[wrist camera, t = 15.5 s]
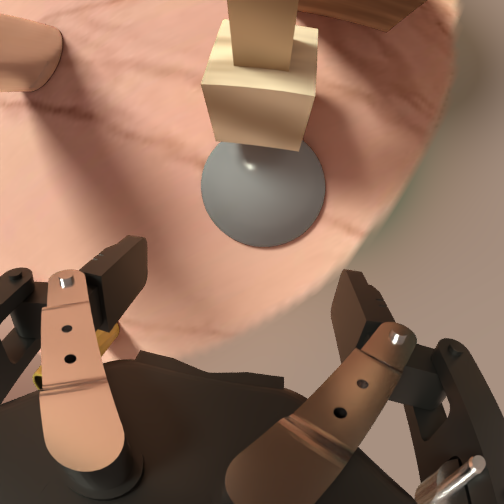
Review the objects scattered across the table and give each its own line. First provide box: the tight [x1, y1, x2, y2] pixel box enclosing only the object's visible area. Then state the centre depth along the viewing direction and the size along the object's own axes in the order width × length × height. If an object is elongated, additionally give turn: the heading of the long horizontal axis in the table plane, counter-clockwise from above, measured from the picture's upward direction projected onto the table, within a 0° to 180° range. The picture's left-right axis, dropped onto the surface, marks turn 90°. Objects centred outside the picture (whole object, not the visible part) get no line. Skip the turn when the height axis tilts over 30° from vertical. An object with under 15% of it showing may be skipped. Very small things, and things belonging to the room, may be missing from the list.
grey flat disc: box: [201, 140, 325, 247], centre depth 29 cm, size 12×12×1 cm
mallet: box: [201, 0, 318, 152], centre depth 14 cm, size 20×7×7 cm
